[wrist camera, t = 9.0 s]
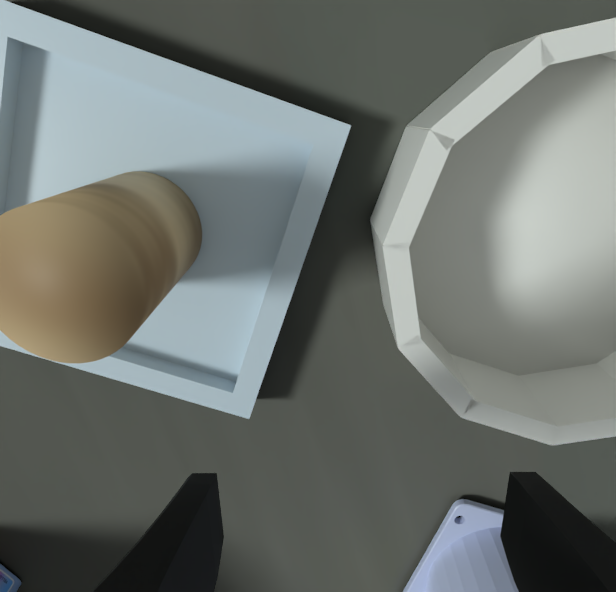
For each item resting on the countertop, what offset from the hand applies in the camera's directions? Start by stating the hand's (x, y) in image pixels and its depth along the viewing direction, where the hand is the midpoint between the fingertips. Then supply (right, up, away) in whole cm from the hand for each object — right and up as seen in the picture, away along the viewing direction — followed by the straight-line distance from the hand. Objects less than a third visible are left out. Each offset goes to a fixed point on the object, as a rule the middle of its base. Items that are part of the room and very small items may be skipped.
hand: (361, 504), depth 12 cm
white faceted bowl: (+8, +8, +7) cm, 13 cm away
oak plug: (-8, +8, +7) cm, 13 cm away
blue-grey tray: (-8, +8, +7) cm, 13 cm away
